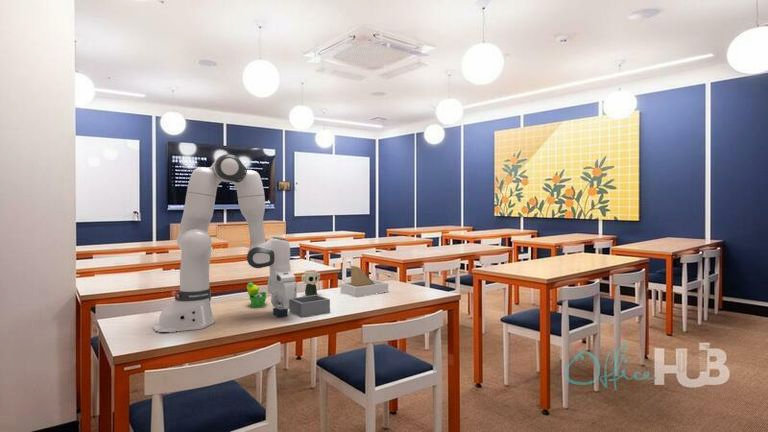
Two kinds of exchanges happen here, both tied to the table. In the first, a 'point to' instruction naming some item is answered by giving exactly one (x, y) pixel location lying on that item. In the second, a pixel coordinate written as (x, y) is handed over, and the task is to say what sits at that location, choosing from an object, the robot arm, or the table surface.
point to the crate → (309, 305)
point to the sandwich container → (359, 277)
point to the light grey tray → (364, 288)
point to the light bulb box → (282, 298)
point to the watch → (278, 309)
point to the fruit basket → (256, 295)
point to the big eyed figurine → (311, 281)
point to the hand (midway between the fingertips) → (280, 306)
